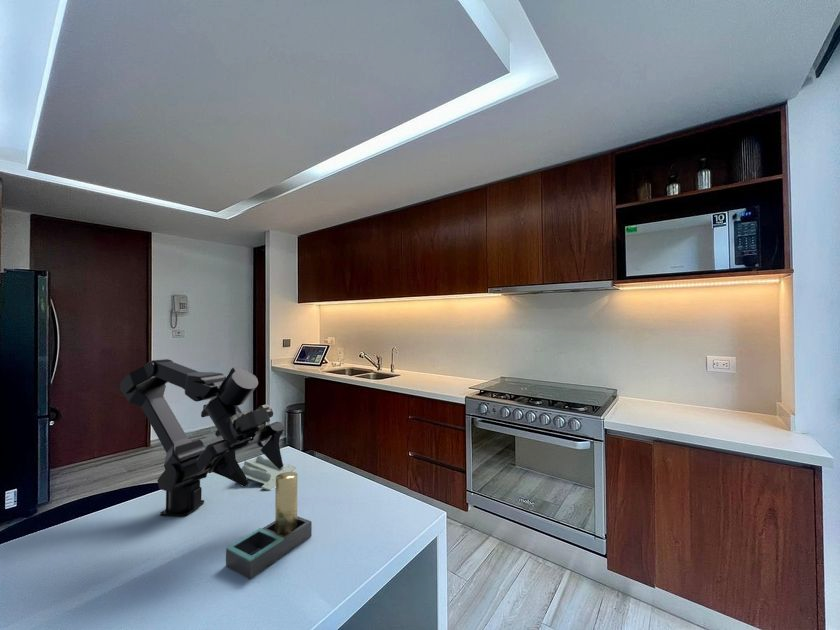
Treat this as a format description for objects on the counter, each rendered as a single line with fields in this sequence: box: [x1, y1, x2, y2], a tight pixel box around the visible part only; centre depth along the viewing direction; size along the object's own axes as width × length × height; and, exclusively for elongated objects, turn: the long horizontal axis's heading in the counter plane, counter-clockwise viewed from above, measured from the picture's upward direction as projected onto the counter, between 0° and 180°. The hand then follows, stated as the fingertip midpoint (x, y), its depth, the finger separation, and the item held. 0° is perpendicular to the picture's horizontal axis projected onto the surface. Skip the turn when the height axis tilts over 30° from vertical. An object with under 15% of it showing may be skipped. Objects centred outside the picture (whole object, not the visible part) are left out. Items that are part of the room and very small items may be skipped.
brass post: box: [274, 471, 298, 536], centre depth 70 cm, size 4×4×13 cm
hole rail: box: [225, 515, 313, 580], centre depth 67 cm, size 14×7×3 cm, turn 151°
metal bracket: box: [240, 455, 297, 491], centre depth 100 cm, size 14×6×15 cm
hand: (265, 475), depth 73 cm, fingers open, 9 cm apart
